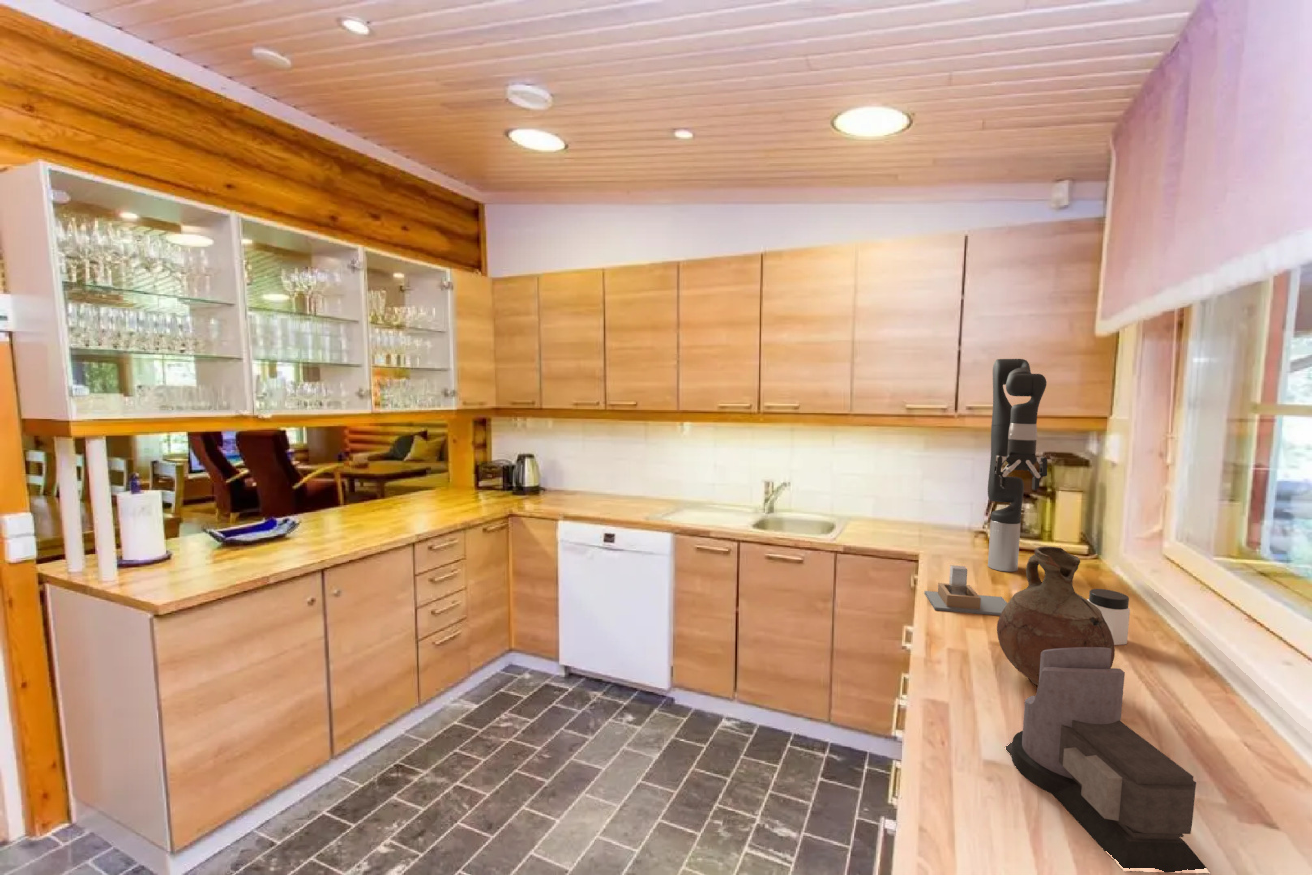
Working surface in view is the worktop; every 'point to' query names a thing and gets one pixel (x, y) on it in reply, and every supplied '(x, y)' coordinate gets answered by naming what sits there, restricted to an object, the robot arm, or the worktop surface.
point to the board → (965, 601)
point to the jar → (1113, 612)
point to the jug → (1049, 614)
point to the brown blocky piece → (1104, 763)
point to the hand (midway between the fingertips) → (1019, 489)
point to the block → (958, 580)
